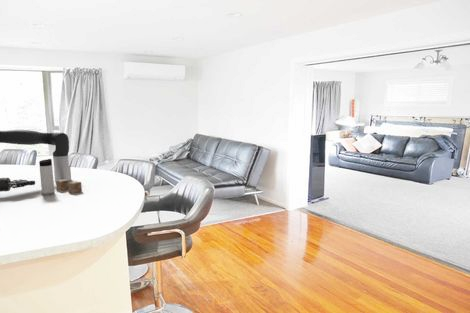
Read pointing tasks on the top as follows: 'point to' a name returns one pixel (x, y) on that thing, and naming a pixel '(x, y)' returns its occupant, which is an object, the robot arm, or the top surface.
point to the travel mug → (46, 177)
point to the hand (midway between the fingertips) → (34, 182)
